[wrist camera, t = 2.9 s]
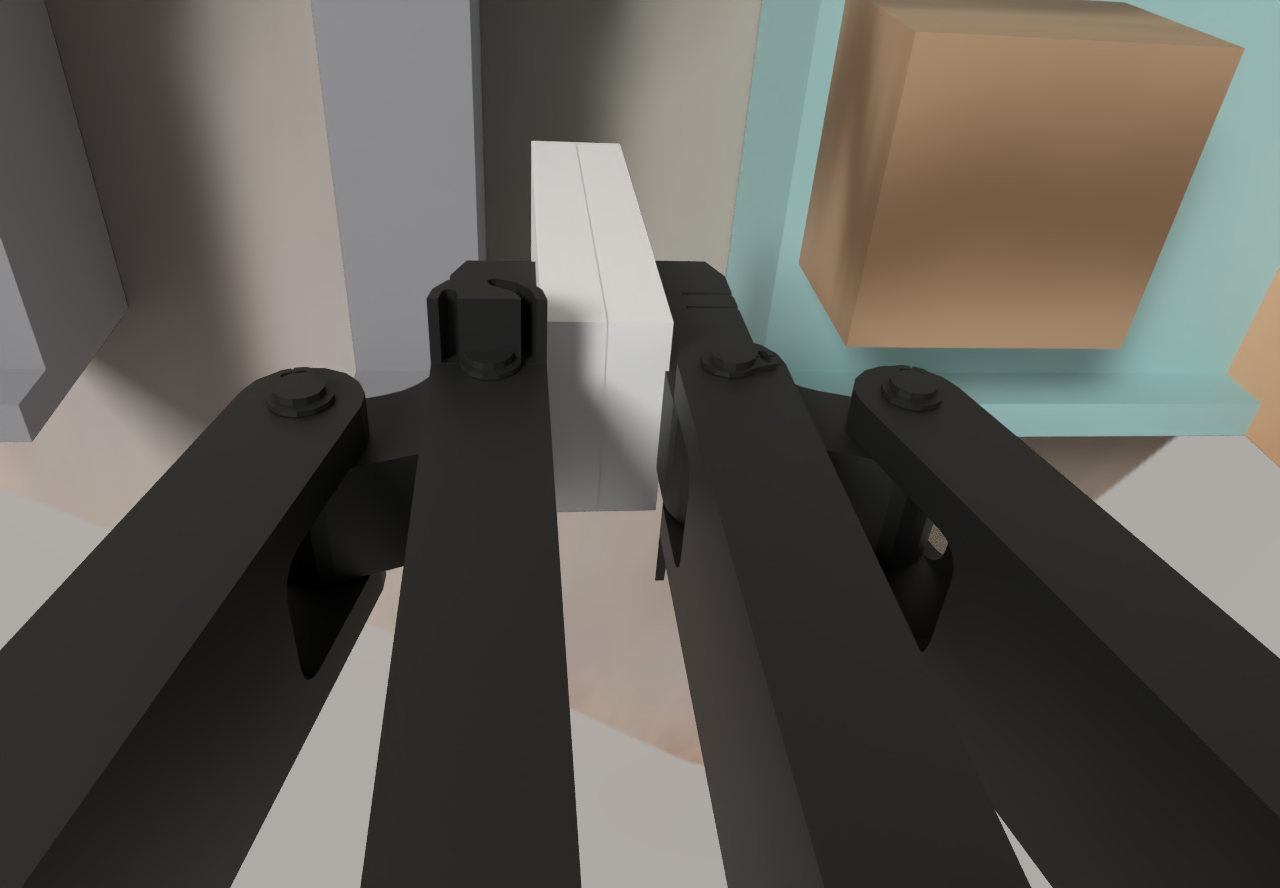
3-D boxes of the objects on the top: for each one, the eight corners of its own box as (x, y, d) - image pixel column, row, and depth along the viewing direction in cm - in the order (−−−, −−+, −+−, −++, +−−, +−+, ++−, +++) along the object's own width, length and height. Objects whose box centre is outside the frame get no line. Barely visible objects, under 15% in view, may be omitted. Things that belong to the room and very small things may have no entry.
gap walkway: (-217, -349, 18) (-713, -430, 11) (1369, -207, 22) (1782, -195, 15) (14, 307, 26) (-181, 514, 19) (1146, 320, 30) (1345, 493, 23)
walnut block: (847, -14, 19) (916, 31, 16) (1125, 2, 20) (1245, 47, 16) (798, 263, 22) (846, 346, 19) (1036, 267, 23) (1120, 349, 20)
